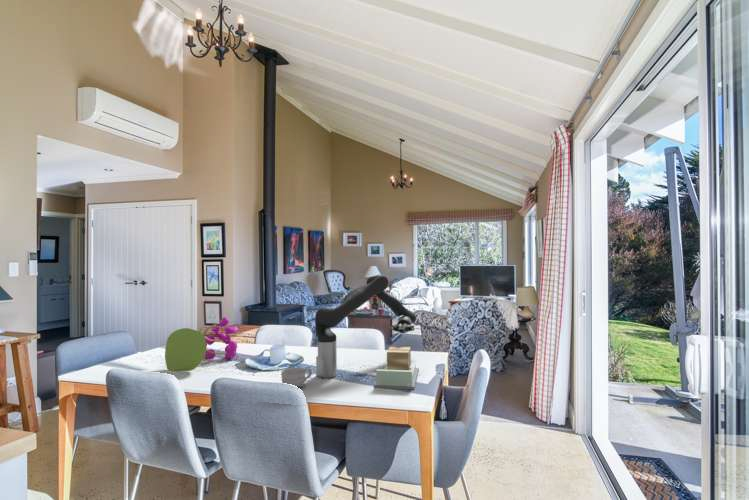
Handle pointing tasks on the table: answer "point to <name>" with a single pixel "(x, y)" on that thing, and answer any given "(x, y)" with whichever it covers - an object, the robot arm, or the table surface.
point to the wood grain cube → (399, 358)
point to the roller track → (396, 378)
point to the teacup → (295, 376)
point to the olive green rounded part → (197, 346)
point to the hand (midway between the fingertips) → (401, 331)
